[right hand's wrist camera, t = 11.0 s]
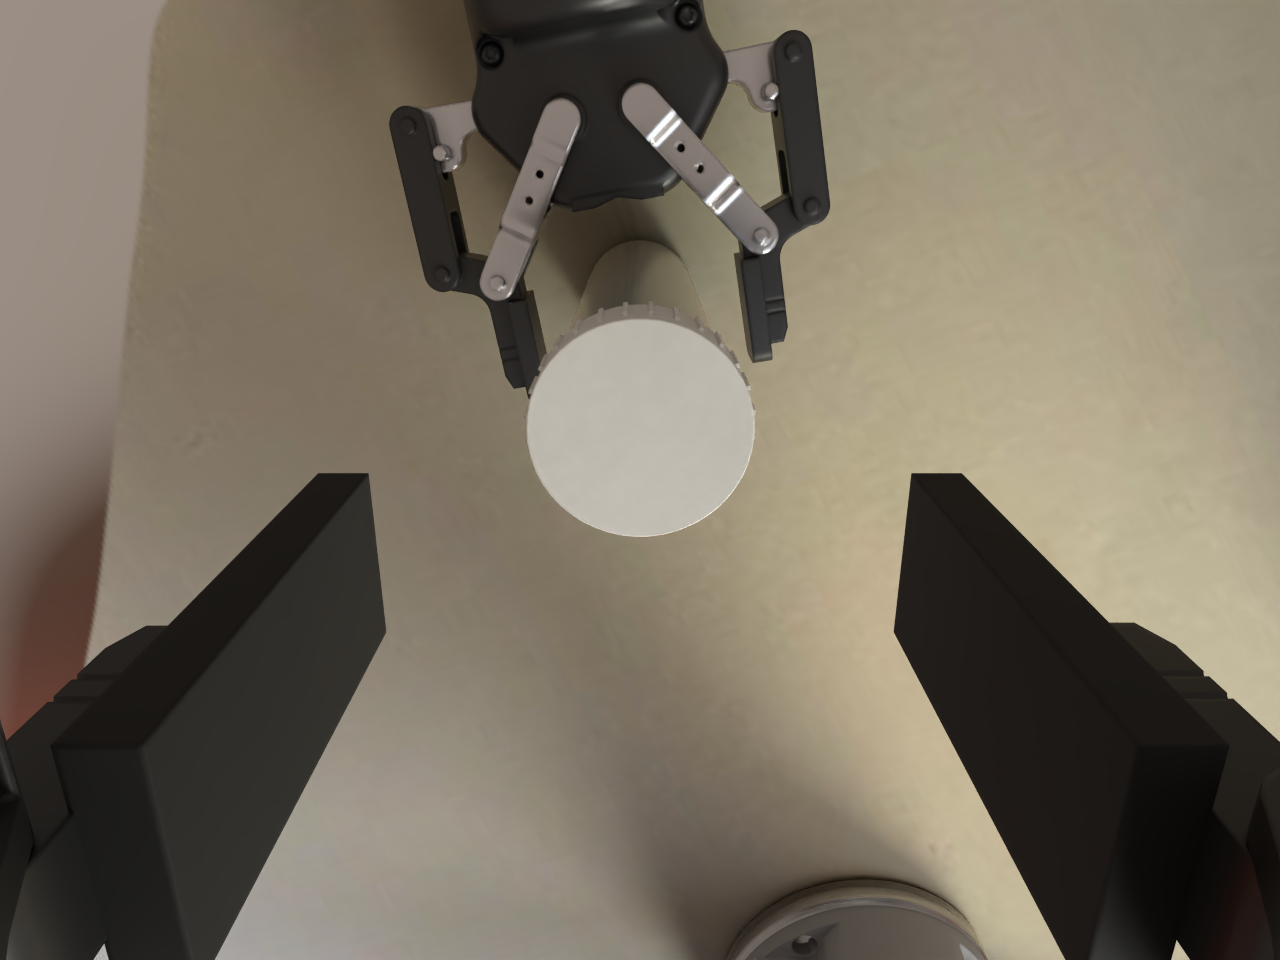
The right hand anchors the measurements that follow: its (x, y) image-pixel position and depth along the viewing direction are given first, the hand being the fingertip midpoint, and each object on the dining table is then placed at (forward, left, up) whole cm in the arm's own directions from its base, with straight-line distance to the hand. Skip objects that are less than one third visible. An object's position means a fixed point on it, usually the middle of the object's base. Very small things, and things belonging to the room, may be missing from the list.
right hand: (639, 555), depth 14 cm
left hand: (-1, +2, -20) cm, 20 cm away
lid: (0, 0, -7) cm, 7 cm away
